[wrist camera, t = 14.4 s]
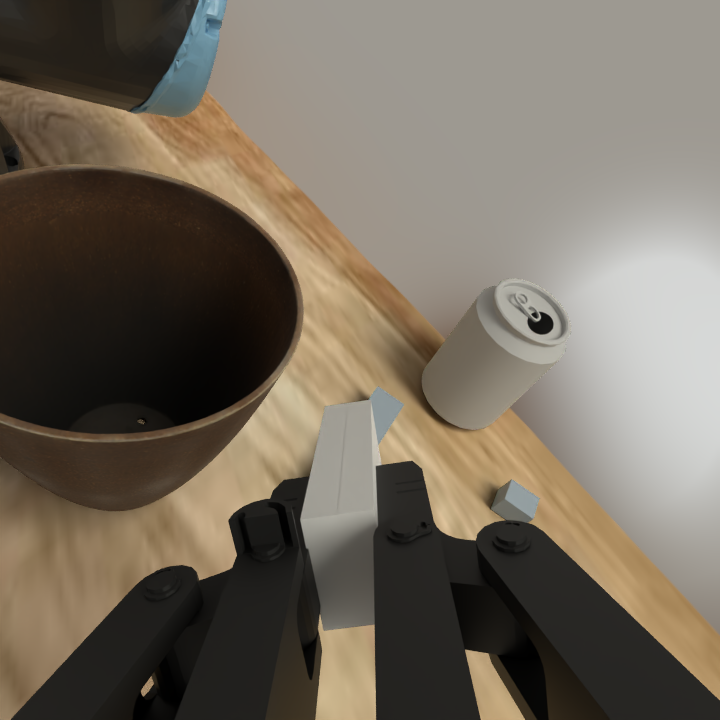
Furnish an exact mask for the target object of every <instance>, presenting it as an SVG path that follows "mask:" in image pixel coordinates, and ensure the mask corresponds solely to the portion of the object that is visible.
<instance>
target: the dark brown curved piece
mask: <svg viewBox="0 0 720 720" xmlns="http://www.w3.org/2000/svg"><path fill="white" fill-rule="evenodd" d="M303 314H304V307H303V298H302V293H301V289H300V285H299V282H298V279H297V276H296V274H295V272H294V270H293V268H292V266H291V264H290V262H289V260H288V259H287V257H286V255H285V254H284V252H283V251H282V249H281V248H280V247H279V245H278V244H277V243H276V242H275V240H274V239H273V238H272V237H271V236H270V235H269V234H268V233H267V232H266V231H265V230H264V229H263V228H262V227H261V226H260V225H259V224H257V223H256V222H255V221H254V220H253V219H252V218H250V217H249V216H248V215H247V214H245V213H244V212H242V211H241V210H240V209H238V208H237V207H235V206H233V205H232V204H230V203H229V202H227V201H225V200H223V199H222V198H220V197H218V196H216V195H214V194H212V193H210V192H208V191H206V190H204V189H202V188H199V187H197V186H194V185H192V184H189V183H187V182H184V181H181V180H178V179H175V178H171V177H168V176H165V175H162V174H157V173H152V172H148V171H145V170H140V169H134V168H128V167H120V166H109V165H98V164H65V165H52V166H44V167H36V168H29V169H24V170H19V171H15V172H10V173H6V174H3V175H0V456H1V457H2V458H3V459H4V460H6V461H7V462H8V463H9V464H11V465H12V466H13V467H14V468H16V469H17V470H19V471H20V472H21V473H23V474H24V475H26V476H27V477H28V478H30V479H31V480H33V481H34V482H36V483H38V484H39V485H41V486H42V487H44V488H46V489H47V490H49V491H51V492H53V493H55V494H56V495H58V496H61V497H63V498H65V499H67V500H70V501H72V502H75V503H77V504H80V505H83V506H86V507H90V508H94V509H99V510H107V511H124V510H130V509H135V508H139V507H142V506H145V505H147V504H150V503H152V502H154V501H156V500H159V499H161V498H162V497H164V496H166V495H168V494H169V493H171V492H173V491H174V490H176V489H178V488H179V487H180V486H182V485H183V484H185V483H186V482H187V481H189V480H190V479H191V478H193V477H194V476H195V475H196V474H197V473H199V472H200V471H201V470H202V469H203V468H204V467H205V466H207V465H208V464H209V463H210V462H211V461H212V460H213V459H214V458H215V457H216V456H217V455H218V454H219V453H220V452H221V451H222V450H223V449H224V448H225V447H226V446H227V445H228V444H229V443H230V441H231V440H232V439H233V438H234V437H235V436H236V435H237V434H238V432H239V431H240V430H241V429H242V428H243V426H244V425H245V424H246V423H247V421H248V420H249V419H250V417H251V416H252V415H253V413H254V412H255V411H256V409H257V408H258V407H259V406H260V404H261V403H262V401H263V400H264V399H265V397H266V396H267V394H268V393H269V391H270V390H271V388H272V387H273V386H274V384H275V383H276V381H277V380H278V378H279V377H280V375H281V374H282V372H283V371H284V370H285V368H286V366H287V365H288V363H289V362H290V360H291V358H292V356H293V354H294V352H295V350H296V348H297V345H298V342H299V340H300V336H301V332H302V326H303ZM140 418H144V419H146V420H147V422H146V423H145V424H140V423H138V422H137V420H138V419H140Z"/></svg>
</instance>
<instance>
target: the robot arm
mask: <svg viewBox="0 0 720 720" xmlns="http://www.w3.org/2000/svg"><path fill="white" fill-rule="evenodd" d="M226 2H227V0H0V80H2V81H6V82H11V83H15V84H19V85H23V86H27V87H31V88H35V89H40V90H44V91H48V92H52V93H56V94H60V95H64V96H68V97H73V98H77V99H81V100H85V101H89V102H93V103H97V104H102V105H106V106H110V107H114V108H118V109H122V110H126V111H128V112H131V113H135V114H138V113H150V114H156V115H162V116H168V117H183V116H186V115H188V114H190V113H191V112H192V111H193V110H195V108H196V107H197V106H198V105H199V103H200V101H201V99H202V97H203V95H204V92H205V90H206V87H207V84H208V81H209V78H210V75H211V71H212V68H213V64H214V60H215V56H216V52H217V47H218V42H219V29H220V28H221V25H222V20H223V16H224V13H225V9H226ZM19 170H24V163H23V158H22V155H21V152H20V150H19V147H18V145H17V144H16V142H15V140H14V139H13V137H12V135H11V134H10V132H9V130H8V129H7V127H6V125H5V123H4V122H3V120H2V118H1V117H0V175H3V174H6V173H10V172H15V171H19ZM228 521H229V525H230V529H231V533H232V537H233V541H234V545H235V549H236V553H237V557H236V559H235V562H234V565H233V567H232V568H231V569H230V570H227V571H225V572H222V573H220V574H217V575H214V576H211V577H208V578H206V579H203V580H200V581H199V578H198V575H197V572H196V571H195V570H194V569H193V568H192V567H188V566H184V565H179V566H170V567H166V568H164V569H160V570H157V571H156V572H154V573H152V574H151V575H149V576H147V577H145V578H144V579H143V580H142V581H140V582H139V583H138V584H137V585H136V586H135V587H134V588H133V589H132V590H131V591H130V592H129V593H128V594H127V595H126V596H125V597H124V598H123V599H122V601H121V602H120V603H119V604H118V605H117V606H116V607H115V608H114V609H113V610H112V611H111V612H110V613H109V614H108V616H107V617H106V618H105V619H104V620H103V621H102V622H101V623H100V624H99V625H98V626H97V627H96V628H95V630H94V631H93V632H92V633H91V634H90V635H89V636H88V637H87V638H86V639H85V640H84V641H83V642H82V643H81V645H80V646H79V647H78V648H77V649H76V650H75V651H74V652H73V653H72V654H71V655H70V656H69V657H68V659H67V660H66V661H65V662H64V663H63V664H62V665H61V666H60V667H59V668H58V669H57V670H56V671H55V672H54V674H53V675H52V676H51V677H50V678H49V679H48V680H47V681H46V682H45V683H44V684H43V685H42V686H41V688H40V689H39V690H38V691H37V692H36V693H35V694H34V695H33V696H32V697H31V698H30V699H29V700H28V701H27V703H26V704H25V705H24V706H23V707H22V708H21V709H20V710H19V711H18V712H17V713H16V714H15V715H14V717H13V718H12V719H11V720H315V716H316V706H317V696H318V686H319V676H320V665H321V655H322V647H321V641H320V636H319V631H318V624H319V615H321V620H322V624H323V629H324V631H325V630H333V629H341V628H349V627H358V626H366V625H374V624H375V672H376V720H481V719H480V715H479V710H478V706H477V701H476V697H475V693H474V688H473V684H472V679H471V675H470V670H469V666H468V662H467V657H466V653H465V650H471V651H478V652H484V653H489V656H490V659H491V662H492V664H493V666H494V668H495V669H496V671H497V673H498V674H499V676H500V678H501V680H502V681H503V683H504V685H505V686H506V688H507V690H508V691H509V693H510V695H511V696H512V698H513V700H514V701H515V703H516V705H517V706H518V708H519V710H520V711H521V713H522V715H523V716H524V718H525V720H720V700H719V699H718V698H717V697H715V696H714V695H713V694H712V693H711V692H710V691H709V690H708V689H707V688H706V687H705V686H704V685H703V684H702V683H701V682H700V681H699V680H698V679H697V678H696V677H695V676H694V675H693V674H691V673H690V672H689V671H688V670H687V669H686V668H685V667H684V666H683V665H682V664H681V663H680V662H679V661H678V660H677V659H676V658H675V657H674V656H673V655H672V654H671V653H670V652H669V651H667V650H666V649H665V648H664V647H663V646H662V645H661V644H660V643H659V642H658V641H657V640H656V639H655V638H654V637H653V636H652V635H651V634H650V633H649V632H648V631H647V630H646V629H645V628H643V627H642V626H641V625H640V624H639V623H638V622H637V621H636V620H635V619H634V618H633V617H632V616H631V615H630V614H629V613H628V612H627V611H626V610H625V609H624V608H623V607H622V606H621V605H619V604H618V603H617V602H616V601H615V600H614V599H613V598H612V597H611V596H610V595H609V594H608V593H607V592H606V591H605V590H604V589H603V588H602V587H601V586H600V585H599V584H598V583H597V582H596V581H594V580H593V579H592V578H591V577H590V576H589V575H588V574H587V573H586V572H585V571H584V570H583V569H582V568H581V567H580V566H579V565H578V564H577V563H576V562H575V561H574V560H573V559H572V558H570V557H569V556H568V555H567V554H566V553H565V552H564V551H563V550H562V549H561V548H560V547H559V546H558V545H557V544H556V543H555V542H554V541H553V540H552V539H551V538H550V537H549V536H548V535H546V534H545V533H544V532H543V531H542V530H540V529H539V528H537V527H536V526H534V525H532V524H529V523H526V522H522V521H514V520H513V521H512V520H506V521H499V522H494V523H492V524H490V525H487V526H485V527H484V528H483V529H482V530H481V531H480V532H479V533H478V534H477V538H476V541H474V540H464V539H458V538H454V537H451V536H448V535H446V534H445V533H443V532H441V531H440V530H439V529H438V528H437V527H436V525H435V523H434V520H433V516H432V511H431V507H430V502H429V498H428V494H427V490H426V485H425V481H424V476H423V471H422V468H420V467H419V466H418V465H417V464H415V463H414V462H413V461H407V462H400V463H393V464H386V465H381V459H380V453H379V447H378V441H377V435H376V429H375V422H374V416H373V410H372V404H371V400H365V401H358V402H351V403H344V404H337V405H330V406H325V409H324V414H323V418H322V423H321V428H320V432H319V437H318V441H317V446H316V450H315V455H314V459H313V464H312V468H311V473H310V477H302V478H295V479H288V480H283V481H282V482H281V483H280V484H279V485H278V486H277V487H276V488H275V489H274V490H273V492H272V495H271V498H270V499H264V500H260V501H256V502H253V503H250V504H248V505H246V506H244V507H242V508H240V509H239V510H238V511H236V512H235V513H234V514H233V515H232V516H231V518H230V519H229V520H228ZM151 676H152V679H153V682H154V685H153V686H152V688H151V689H150V690H149V692H148V693H147V694H146V695H145V696H144V697H143V696H142V694H141V689H142V688H143V686H144V685H145V684H146V682H147V681H148V679H149V678H150V677H151Z"/></svg>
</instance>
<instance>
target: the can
mask: <svg viewBox="0 0 720 720" xmlns="http://www.w3.org/2000/svg"><path fill="white" fill-rule="evenodd" d="M570 334H571V323H570V320H569V318H568V315H567V313H566V311H565V310H564V309H563V307H562V305H561V304H560V303H559V302H558V301H557V300H556V299H555V298H554V297H553V296H552V295H551V294H550V293H548V292H547V291H546V290H544V289H543V288H542V287H540V286H538V285H536V284H534V283H532V282H529V281H525V280H522V279H506V280H503V281H501V282H500V283H499V284H498V285H497V286H492V287H489V288H487V289H484V290H483V291H482V292H481V294H480V295H479V296H478V297H477V299H476V300H475V301H474V303H473V304H472V305H471V307H470V308H469V309H468V311H467V312H466V313H465V315H464V316H463V317H462V319H461V320H460V321H459V323H458V324H457V325H456V327H455V328H454V330H453V331H452V332H451V334H450V335H449V336H448V338H447V339H446V340H445V342H444V343H443V344H442V346H441V347H440V348H439V350H438V351H437V352H436V354H435V355H434V356H433V358H432V359H431V361H430V362H429V363H428V365H427V366H426V367H425V369H424V371H423V375H422V379H421V380H422V388H423V392H424V394H425V396H426V399H427V401H428V403H429V404H430V405H431V406H432V408H433V409H434V410H435V411H436V413H437V414H438V415H440V416H441V417H442V418H443V419H445V420H446V421H448V422H449V423H451V424H453V425H456V426H458V427H460V428H464V429H470V430H477V429H483V428H486V427H487V426H489V425H490V424H492V423H493V422H494V421H495V420H496V419H498V418H499V417H500V416H501V415H502V414H503V413H504V412H505V411H506V410H507V409H508V408H509V407H510V406H511V405H512V404H513V403H514V402H515V401H516V400H518V398H519V397H520V396H522V395H523V394H524V393H525V392H526V391H527V390H528V389H529V388H530V387H531V386H532V385H533V384H534V383H535V382H537V381H538V379H540V377H542V376H543V375H544V374H545V373H546V372H547V371H548V370H549V369H550V368H551V367H552V366H553V365H554V364H555V363H557V361H559V360H560V359H561V358H562V356H563V354H564V352H565V350H566V340H567V339H568V337H569V335H570Z"/></svg>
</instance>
